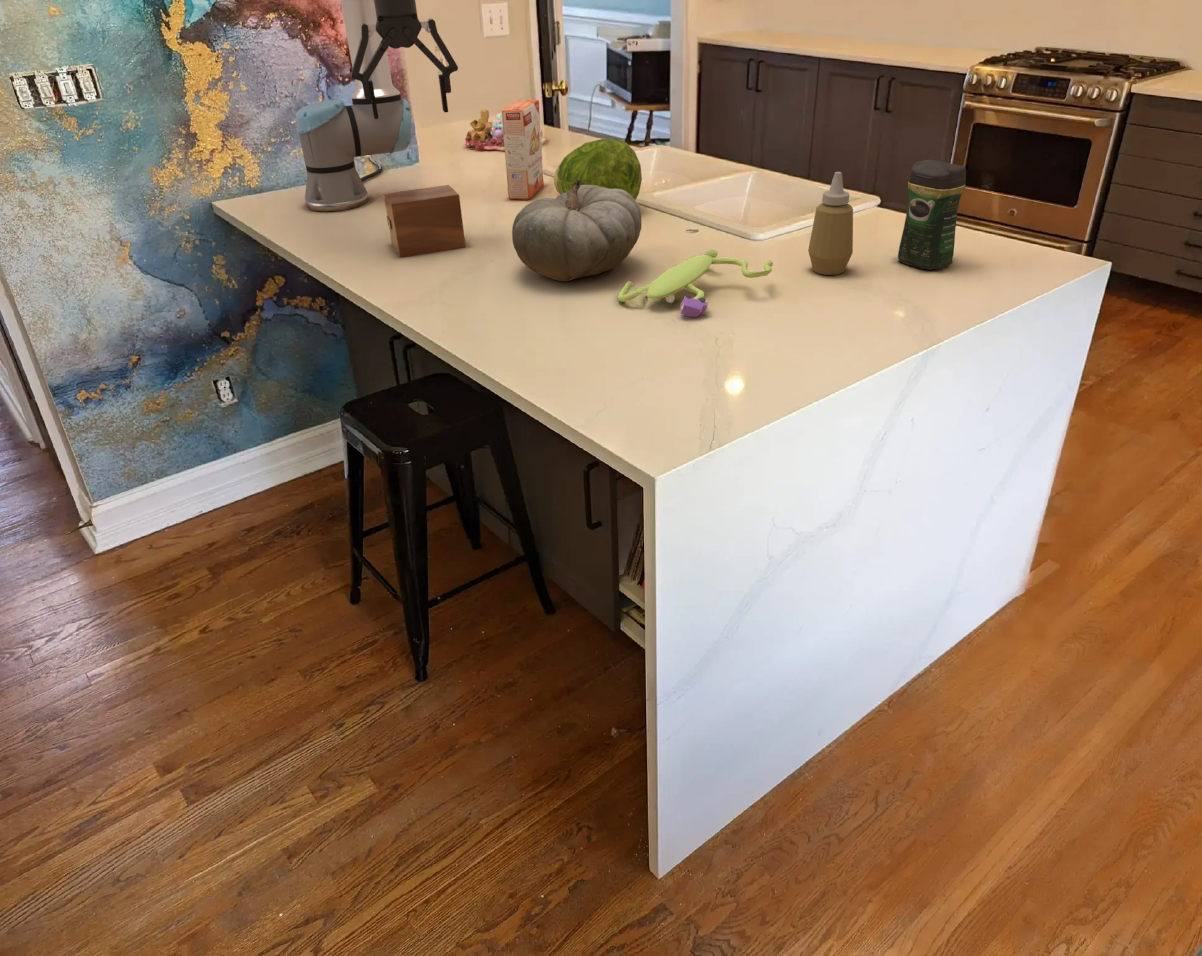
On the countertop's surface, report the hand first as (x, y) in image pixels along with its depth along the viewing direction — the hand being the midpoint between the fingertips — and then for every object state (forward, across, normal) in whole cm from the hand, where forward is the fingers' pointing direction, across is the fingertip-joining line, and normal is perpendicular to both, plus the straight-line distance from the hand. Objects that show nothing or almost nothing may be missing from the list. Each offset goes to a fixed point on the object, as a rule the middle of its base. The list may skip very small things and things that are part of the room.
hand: (411, 114), depth 175 cm
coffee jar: (+26, +88, -48) cm, 104 cm away
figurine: (+26, +43, -47) cm, 69 cm away
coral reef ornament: (+28, +34, +94) cm, 104 cm away
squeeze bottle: (+26, +70, -45) cm, 87 cm away
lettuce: (+27, +40, +12) cm, 49 cm away
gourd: (+26, +26, -26) cm, 45 cm away
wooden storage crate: (+27, 0, 0) cm, 27 cm away
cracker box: (+27, +28, +34) cm, 52 cm away
